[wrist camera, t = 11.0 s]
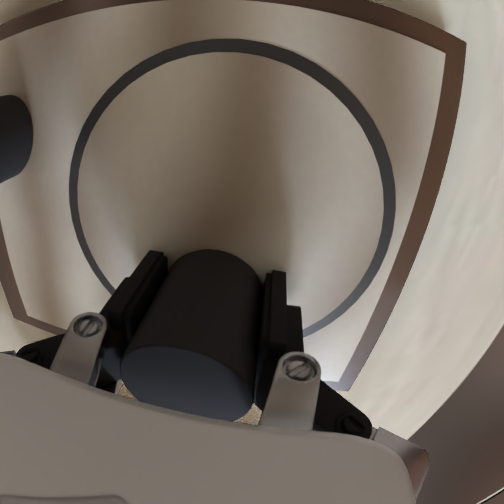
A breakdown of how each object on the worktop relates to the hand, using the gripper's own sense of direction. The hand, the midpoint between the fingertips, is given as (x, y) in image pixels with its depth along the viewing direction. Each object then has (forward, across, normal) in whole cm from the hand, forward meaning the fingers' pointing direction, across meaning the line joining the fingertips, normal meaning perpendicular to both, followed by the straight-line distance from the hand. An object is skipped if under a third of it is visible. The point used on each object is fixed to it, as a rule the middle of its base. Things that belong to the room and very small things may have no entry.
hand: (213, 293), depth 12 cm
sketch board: (+2, +3, -3) cm, 5 cm away
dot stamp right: (0, 0, 0) cm, 0 cm away
